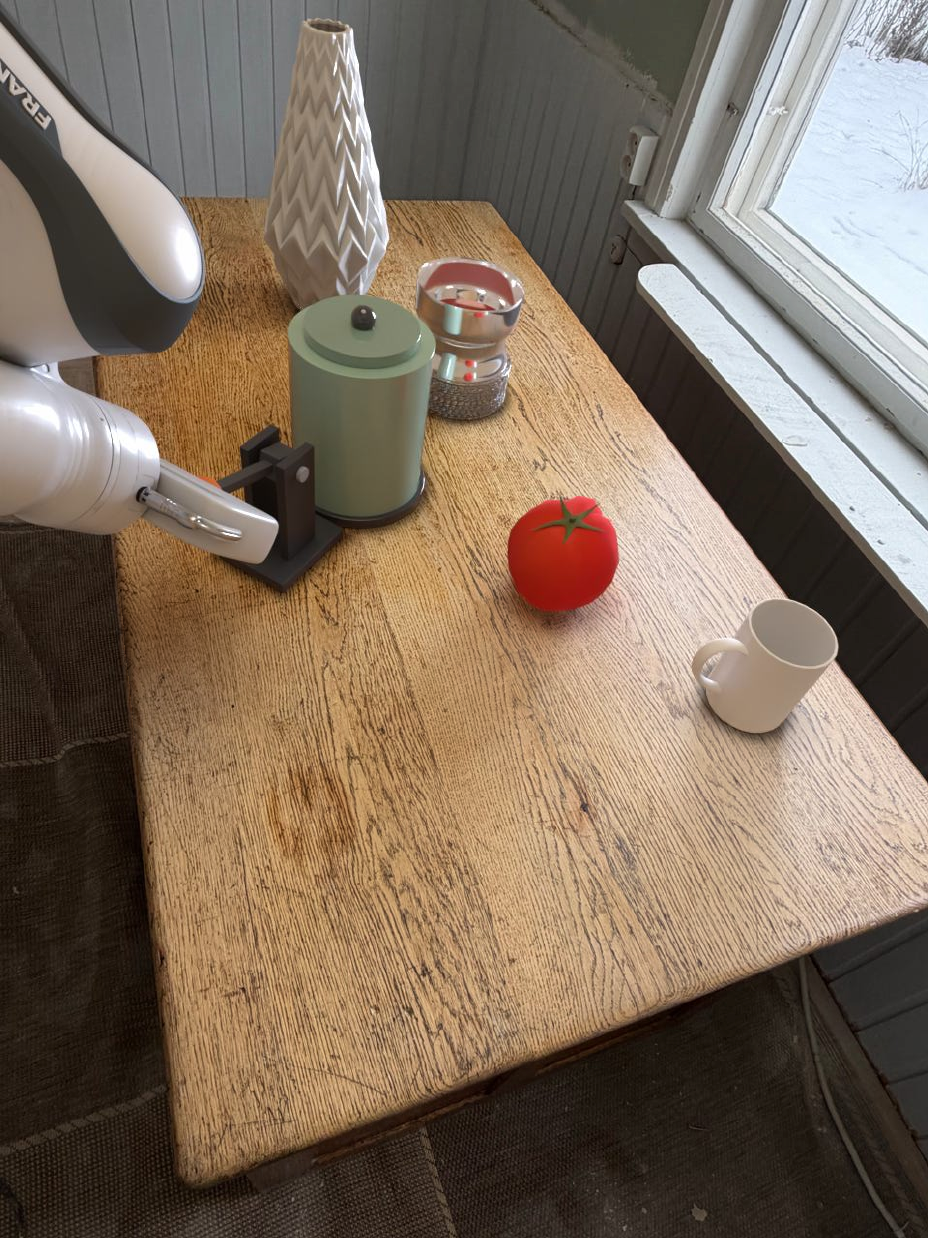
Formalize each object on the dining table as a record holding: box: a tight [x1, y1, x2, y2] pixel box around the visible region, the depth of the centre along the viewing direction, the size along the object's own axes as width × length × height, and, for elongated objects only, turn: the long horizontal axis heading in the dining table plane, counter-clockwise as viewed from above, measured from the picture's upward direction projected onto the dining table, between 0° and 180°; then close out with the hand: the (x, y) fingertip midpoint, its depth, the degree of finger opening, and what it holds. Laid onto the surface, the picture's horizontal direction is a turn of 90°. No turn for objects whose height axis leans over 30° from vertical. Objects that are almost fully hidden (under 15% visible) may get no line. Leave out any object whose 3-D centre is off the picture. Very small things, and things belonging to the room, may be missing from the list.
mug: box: [691, 597, 839, 734], centre depth 71 cm, size 12×8×10 cm, turn 102°
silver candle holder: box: [414, 256, 525, 421], centre depth 98 cm, size 13×18×15 cm
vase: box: [263, 17, 390, 312], centre depth 99 cm, size 17×17×33 cm
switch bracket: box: [218, 423, 344, 593], centre depth 75 cm, size 10×8×13 cm
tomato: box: [506, 495, 620, 612], centre depth 77 cm, size 11×13×10 cm
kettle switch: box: [195, 441, 295, 495], centre depth 67 cm, size 13×4×4 cm, turn 150°
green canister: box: [286, 294, 436, 529], centre depth 80 cm, size 15×15×21 cm
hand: (207, 499), depth 65 cm, fingers closed on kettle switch, 3 cm apart
